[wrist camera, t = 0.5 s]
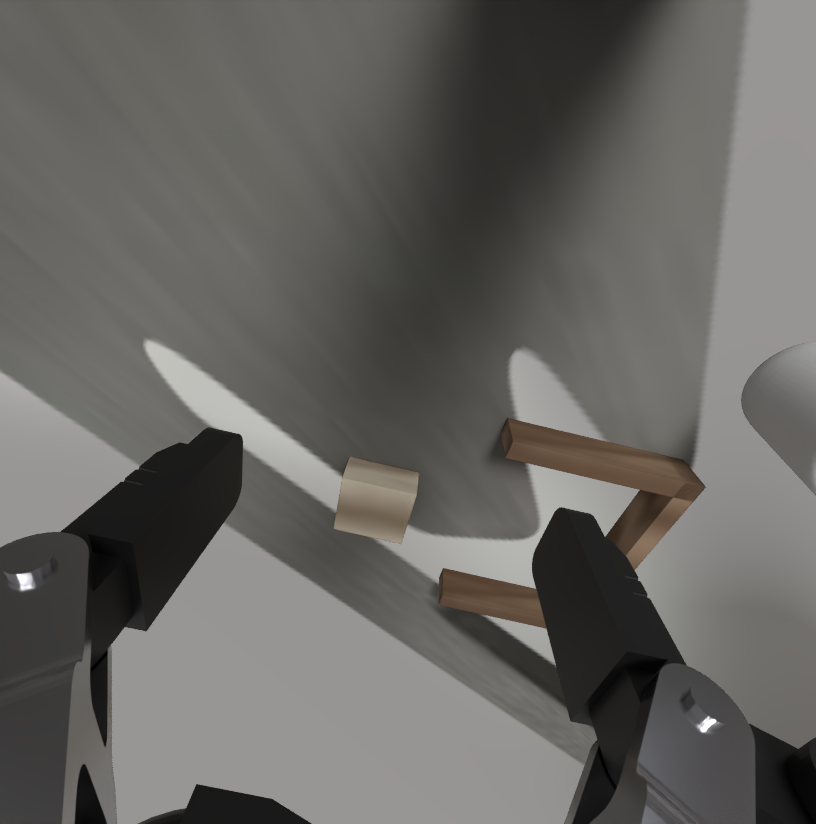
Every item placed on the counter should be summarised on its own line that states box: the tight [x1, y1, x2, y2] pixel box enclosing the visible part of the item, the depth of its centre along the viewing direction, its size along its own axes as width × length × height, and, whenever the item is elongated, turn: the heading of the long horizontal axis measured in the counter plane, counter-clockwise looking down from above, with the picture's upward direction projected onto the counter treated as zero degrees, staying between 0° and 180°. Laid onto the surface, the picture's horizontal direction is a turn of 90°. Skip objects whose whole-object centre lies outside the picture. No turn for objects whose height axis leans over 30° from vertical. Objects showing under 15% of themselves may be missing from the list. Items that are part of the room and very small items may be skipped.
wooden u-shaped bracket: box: [439, 418, 706, 628], centre depth 33 cm, size 20×14×3 cm
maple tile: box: [334, 457, 419, 544], centre depth 33 cm, size 6×6×3 cm
